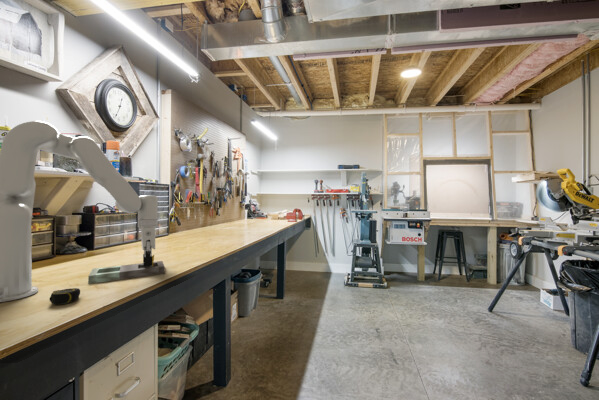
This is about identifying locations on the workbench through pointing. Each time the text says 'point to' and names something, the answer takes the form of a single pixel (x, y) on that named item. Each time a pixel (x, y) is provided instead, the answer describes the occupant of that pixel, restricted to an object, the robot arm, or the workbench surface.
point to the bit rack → (124, 272)
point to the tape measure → (64, 296)
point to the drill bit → (147, 266)
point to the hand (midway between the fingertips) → (147, 263)
